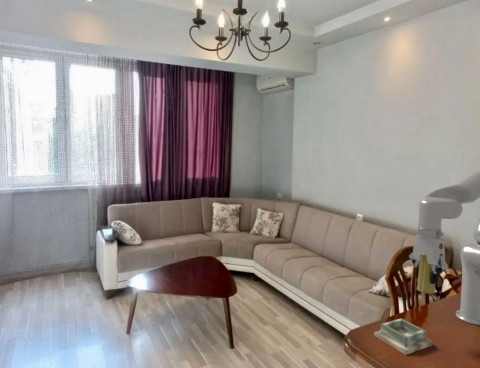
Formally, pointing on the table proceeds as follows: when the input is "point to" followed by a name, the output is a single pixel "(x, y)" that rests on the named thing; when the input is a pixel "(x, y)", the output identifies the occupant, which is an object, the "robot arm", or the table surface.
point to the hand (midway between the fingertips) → (426, 280)
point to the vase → (425, 276)
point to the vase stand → (403, 336)
